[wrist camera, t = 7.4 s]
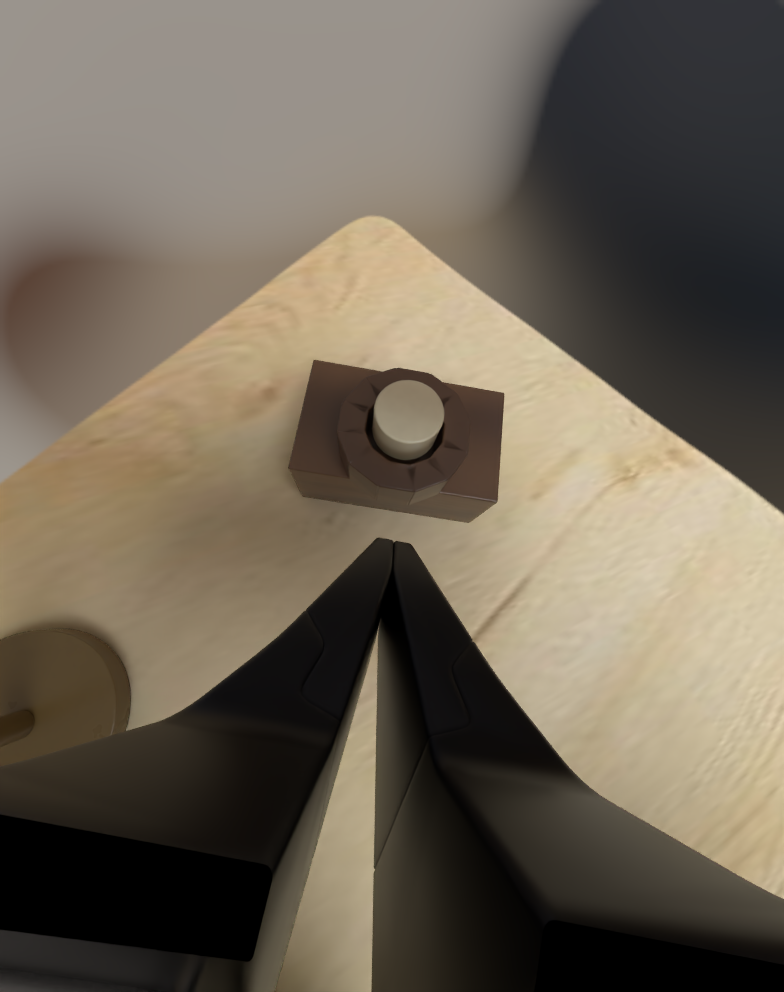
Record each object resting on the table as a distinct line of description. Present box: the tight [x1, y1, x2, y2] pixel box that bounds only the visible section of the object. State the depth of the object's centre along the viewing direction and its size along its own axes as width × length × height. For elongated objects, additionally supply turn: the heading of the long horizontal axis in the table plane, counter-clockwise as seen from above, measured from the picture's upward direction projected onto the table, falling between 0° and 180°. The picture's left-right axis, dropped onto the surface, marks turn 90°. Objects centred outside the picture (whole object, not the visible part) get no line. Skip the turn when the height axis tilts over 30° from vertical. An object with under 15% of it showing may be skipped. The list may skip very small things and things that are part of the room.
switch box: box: [288, 360, 504, 523], centre depth 20 cm, size 7×10×7 cm
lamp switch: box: [372, 380, 444, 460], centre depth 16 cm, size 3×3×2 cm
